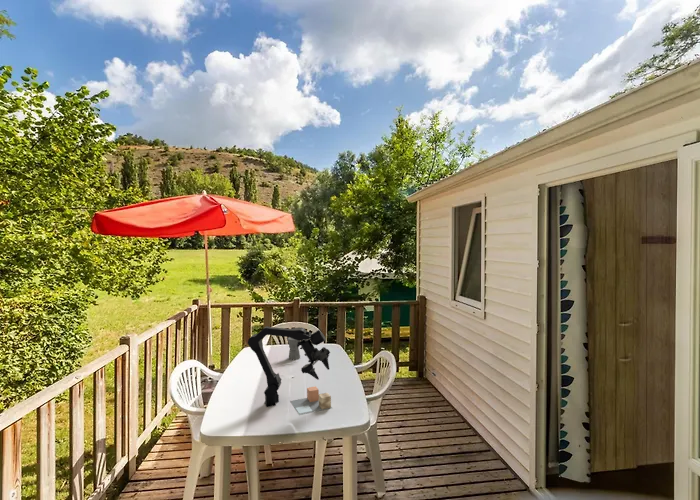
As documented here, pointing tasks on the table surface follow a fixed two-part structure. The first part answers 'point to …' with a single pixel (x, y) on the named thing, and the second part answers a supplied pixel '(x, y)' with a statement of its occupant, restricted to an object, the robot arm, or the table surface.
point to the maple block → (324, 401)
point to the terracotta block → (313, 394)
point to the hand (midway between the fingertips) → (323, 374)
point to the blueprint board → (306, 406)
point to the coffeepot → (293, 348)
